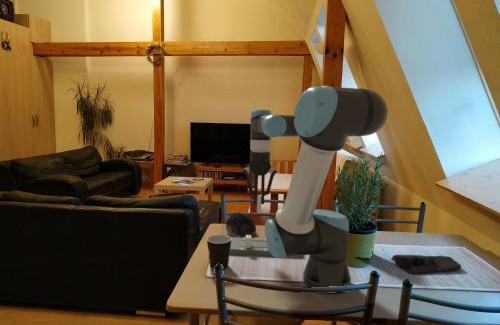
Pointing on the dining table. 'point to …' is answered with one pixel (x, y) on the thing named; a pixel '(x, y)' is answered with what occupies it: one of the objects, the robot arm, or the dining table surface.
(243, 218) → the dark grey rounded lump
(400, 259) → the dark slate chunk
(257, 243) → the console
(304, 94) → the robot arm
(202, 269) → the dining table surface
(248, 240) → the fader left
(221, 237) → the coffee mug
